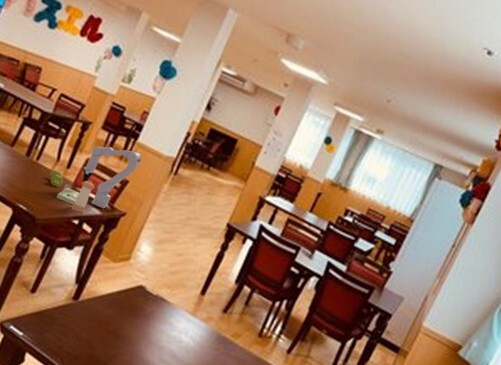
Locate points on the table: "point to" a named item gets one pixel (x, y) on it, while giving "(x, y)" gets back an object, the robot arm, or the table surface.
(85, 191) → the pepper shaker
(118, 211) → the table surface
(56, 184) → the dumbbell
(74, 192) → the pale green box
